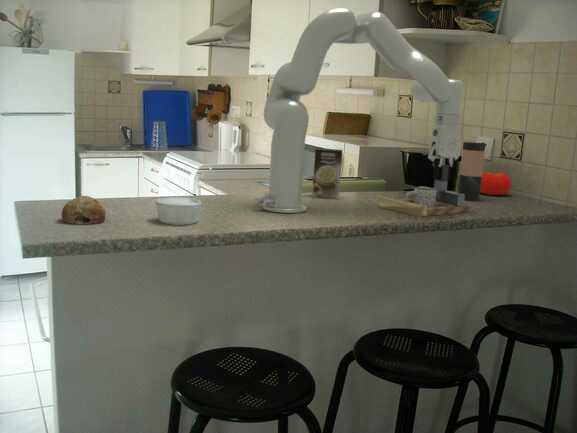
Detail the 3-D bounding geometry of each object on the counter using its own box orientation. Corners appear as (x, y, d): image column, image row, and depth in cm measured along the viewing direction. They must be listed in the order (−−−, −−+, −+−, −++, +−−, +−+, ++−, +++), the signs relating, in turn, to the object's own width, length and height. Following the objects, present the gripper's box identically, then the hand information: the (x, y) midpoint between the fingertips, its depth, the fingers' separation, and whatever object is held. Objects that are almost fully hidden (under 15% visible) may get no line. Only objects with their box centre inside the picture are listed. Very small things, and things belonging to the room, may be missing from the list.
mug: (427, 208, 200) (429, 187, 198) (438, 212, 193) (440, 190, 192) (399, 208, 197) (401, 187, 195) (409, 212, 190) (411, 190, 189)
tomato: (504, 193, 246) (507, 171, 244) (512, 198, 234) (515, 175, 232) (471, 191, 247) (474, 169, 246) (477, 195, 235) (479, 173, 234)
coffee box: (311, 197, 209) (314, 148, 206) (312, 194, 215) (315, 147, 212) (338, 199, 208) (342, 150, 205) (339, 196, 214) (342, 149, 211)
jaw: (457, 205, 192) (461, 167, 190) (416, 197, 206) (419, 161, 204) (463, 205, 194) (467, 167, 192) (422, 196, 207) (425, 161, 205)
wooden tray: (418, 216, 183) (419, 206, 182) (378, 206, 197) (379, 197, 196) (472, 211, 197) (473, 202, 196) (431, 203, 210) (431, 194, 210)
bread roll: (62, 239, 148) (63, 211, 144) (59, 213, 156) (60, 186, 151) (106, 237, 152) (108, 210, 148) (101, 212, 160) (103, 186, 155)
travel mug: (482, 199, 225) (488, 143, 221) (476, 202, 219) (482, 144, 215) (461, 197, 229) (466, 141, 225) (454, 199, 223) (460, 142, 219)
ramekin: (208, 224, 156) (208, 203, 155) (165, 227, 150) (166, 205, 149) (189, 216, 165) (190, 196, 164) (148, 218, 159) (149, 198, 158)
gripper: (438, 120, 187) (432, 181, 191) (473, 121, 197) (467, 180, 200) (419, 118, 193) (414, 178, 197) (455, 120, 203) (449, 177, 206)
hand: (441, 178), depth 198 cm, fingers closed on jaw, 2 cm apart
